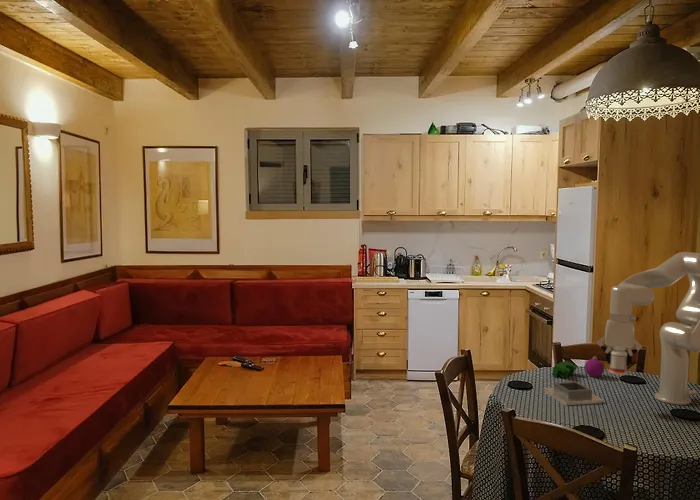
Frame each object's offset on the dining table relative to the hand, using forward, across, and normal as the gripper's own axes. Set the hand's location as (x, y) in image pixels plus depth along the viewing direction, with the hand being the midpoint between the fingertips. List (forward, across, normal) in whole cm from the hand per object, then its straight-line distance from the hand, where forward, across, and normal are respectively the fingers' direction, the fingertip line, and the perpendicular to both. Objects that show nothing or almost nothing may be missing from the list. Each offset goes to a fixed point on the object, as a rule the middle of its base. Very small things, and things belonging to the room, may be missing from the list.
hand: (618, 363), depth 204 cm
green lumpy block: (+18, +19, -34) cm, 43 cm away
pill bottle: (+4, 0, 0) cm, 4 cm away
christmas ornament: (+18, +6, -39) cm, 43 cm away
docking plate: (+18, +16, -5) cm, 24 cm away
